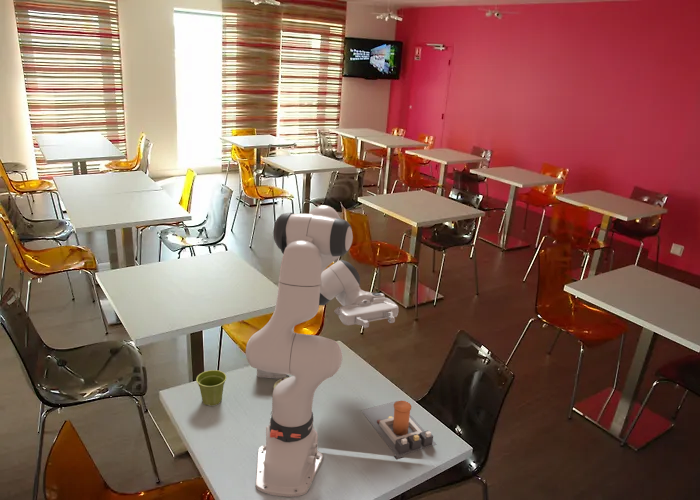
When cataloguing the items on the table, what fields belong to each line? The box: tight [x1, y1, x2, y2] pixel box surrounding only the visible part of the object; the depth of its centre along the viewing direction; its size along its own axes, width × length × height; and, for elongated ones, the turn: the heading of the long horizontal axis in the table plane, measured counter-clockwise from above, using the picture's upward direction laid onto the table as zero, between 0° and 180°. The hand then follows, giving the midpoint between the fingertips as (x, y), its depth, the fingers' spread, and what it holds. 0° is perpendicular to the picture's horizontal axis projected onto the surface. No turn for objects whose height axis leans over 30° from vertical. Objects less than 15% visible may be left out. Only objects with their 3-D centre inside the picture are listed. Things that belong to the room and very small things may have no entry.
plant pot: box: [195, 369, 227, 407], centre depth 173 cm, size 9×9×9 cm
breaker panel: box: [360, 400, 437, 460], centre depth 166 cm, size 23×14×5 cm, turn 26°
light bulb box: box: [256, 369, 288, 380], centre depth 190 cm, size 11×7×11 cm, turn 89°
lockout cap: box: [393, 400, 412, 436], centre depth 164 cm, size 5×5×9 cm
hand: (380, 323), depth 169 cm, fingers open, 8 cm apart
